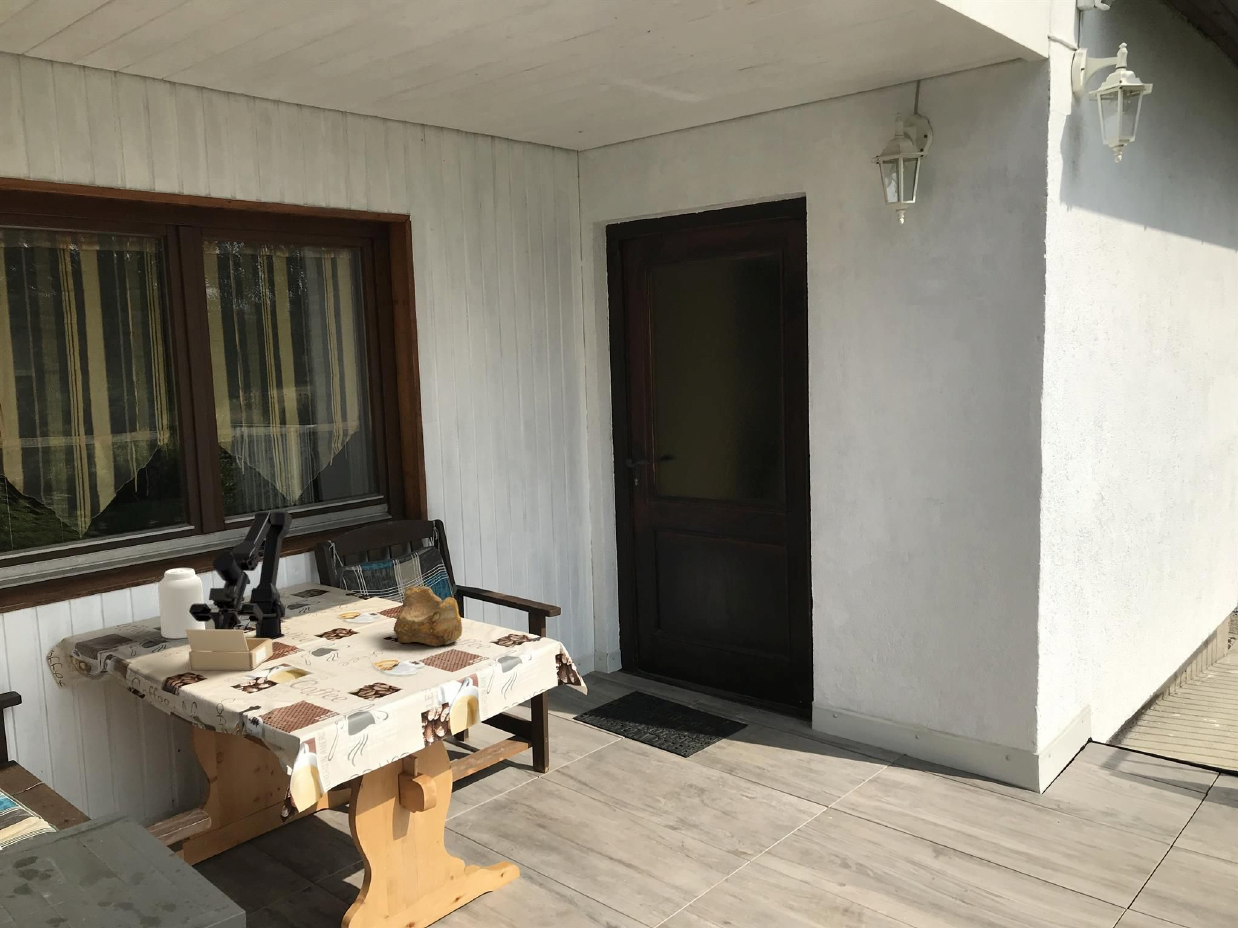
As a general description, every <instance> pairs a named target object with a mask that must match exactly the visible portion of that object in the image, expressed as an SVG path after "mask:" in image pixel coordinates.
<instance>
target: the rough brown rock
mask: <svg viewBox="0 0 1238 928" xmlns="http://www.w3.org/2000/svg"><path fill="white" fill-rule="evenodd" d="M403 597H404V598H403V603H402V605H401V608H400V612H399V613H398V615H397V617H396V621H395V623H394V625H393V632H394V633H395V636H396V637H397V639H398V642H400V643H402V644H410V643H413V642H415V643H422V644H425V645H427V646H430V647H431V646H432V647H435V648H439V647H441V646H442V645H445V646H447V645H448V644H452V643H454V642H456V641H457V640H458V639H459V638H461V636H462V634H463V625H462V617H461V615H460V614H459V605H458V603H457V600H456V599H455V598H454V597H452V596H449V597H446V598H445V599H443V600H442V599H441V598H440V597H439V596H437V595H436V594H435V593H434V592H433V590H432V588H431V587H429V586H424V585H422V586H420V585H419V586H418V587H415V586H407V587H406V588H405V590H404V594H403Z"/></svg>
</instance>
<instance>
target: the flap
mask: <svg viewBox="0 0 1238 928" xmlns="http://www.w3.org/2000/svg"><path fill="white" fill-rule="evenodd" d="M186 633H187V637H188V638H187V639H188V643H189V646H190V649H191V650H192V651H249V650H248V646H247V643H246V639H245V638H246V636H245V632H244V629H231V630H215V629H205V630H203V629H186ZM191 650H190V651H191Z"/></svg>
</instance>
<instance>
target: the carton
mask: <svg viewBox="0 0 1238 928" xmlns="http://www.w3.org/2000/svg"><path fill="white" fill-rule="evenodd" d="M245 639H246V643H247V646H248V650H249V651H192V650H190V651H188V665H189V666H188V667H189V670H190V671H253V670H254V669H256V668H257V667H258V666H260V665H261V664H263V663H264V662H265V661H266V660H268V659H270V658H271V657H272V656H273V654H274V653H273V639H267V638H256V637H254V638H253V637H252V638H250V637H247V638H246V637H245Z"/></svg>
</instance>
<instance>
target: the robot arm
mask: <svg viewBox="0 0 1238 928" xmlns="http://www.w3.org/2000/svg"><path fill="white" fill-rule="evenodd" d="M292 521H293V517H292V515H291V514H290V513H289V512H288V511H287V510H266V511H258V512H255V514H254V519H253V522H252V523H251V526H250V528H249V529H248V531H247V534H246V535H245V537H244V539H243V541H242V542H241V543H240V544H238V545H236V546H235V547H234V548H233V550H224V551H223V553H221V554H219V555H218V556H216V557H215V559H213V562H212V567H213V569H214V570H215V572H216V573H217V575H218V576H219V577H220V579H221V580H222V581H224V584H223V587H211V588H210V590H209V596H208V601H213V603H212V604H213V606H212V607H209V606H208V604H207V603H194V604H192V605H191V607H190V610H189V612H190V614H191V615H192V616H193V617H194V619H195V620H196V621H199V622H205V623H206V622H210V621H213V623H214V630H234V628H235V627H237V625H238V626H239V625H240V624H241V623H242V621H241V619H242V617H245V616H246V617H248V620H249V621H250V622H251V623H255V625H254V626H255V635H254V638H267V639H272V640H274V639H278V638H281V637H285V634H284V633H283V632H282V622H281V621H282V618H285V615H286V607H285V605H284V604H283V603H282V601H281V595H280V594H281V593H280V592H279V590H278V588H277V579H278V575H279V574H278V573H279V566H280V558H281V553H282V552H281V551H282V544H283V540H284V539H285V537H286V536H287V535H288V534H289V532H290V528H291V525H292V523H293V522H292ZM264 540H265V542H264ZM263 542H264V549H263V555H262V556H263V557H262V561H261V562H262V563H261V568H260V570H261V571H260V574H259V575H260V577H259V583H258V585H257V586H256V587H253V588H252V589H251V591H250V594H251V595H250V598H249V602H248V603H244V602H245V599H246V598H245V597H244V595H245V591H246V590H247V589H246V588H247V586H248V585H251V580H250V579H251V578H250V577H249V575H248V573H246V572H254V571H256V569H257V567H258V566H259V563H260V555H259V551H260V549H261V546H262V544H263ZM242 603H243V604H242ZM241 605H242V606H241Z"/></svg>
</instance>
